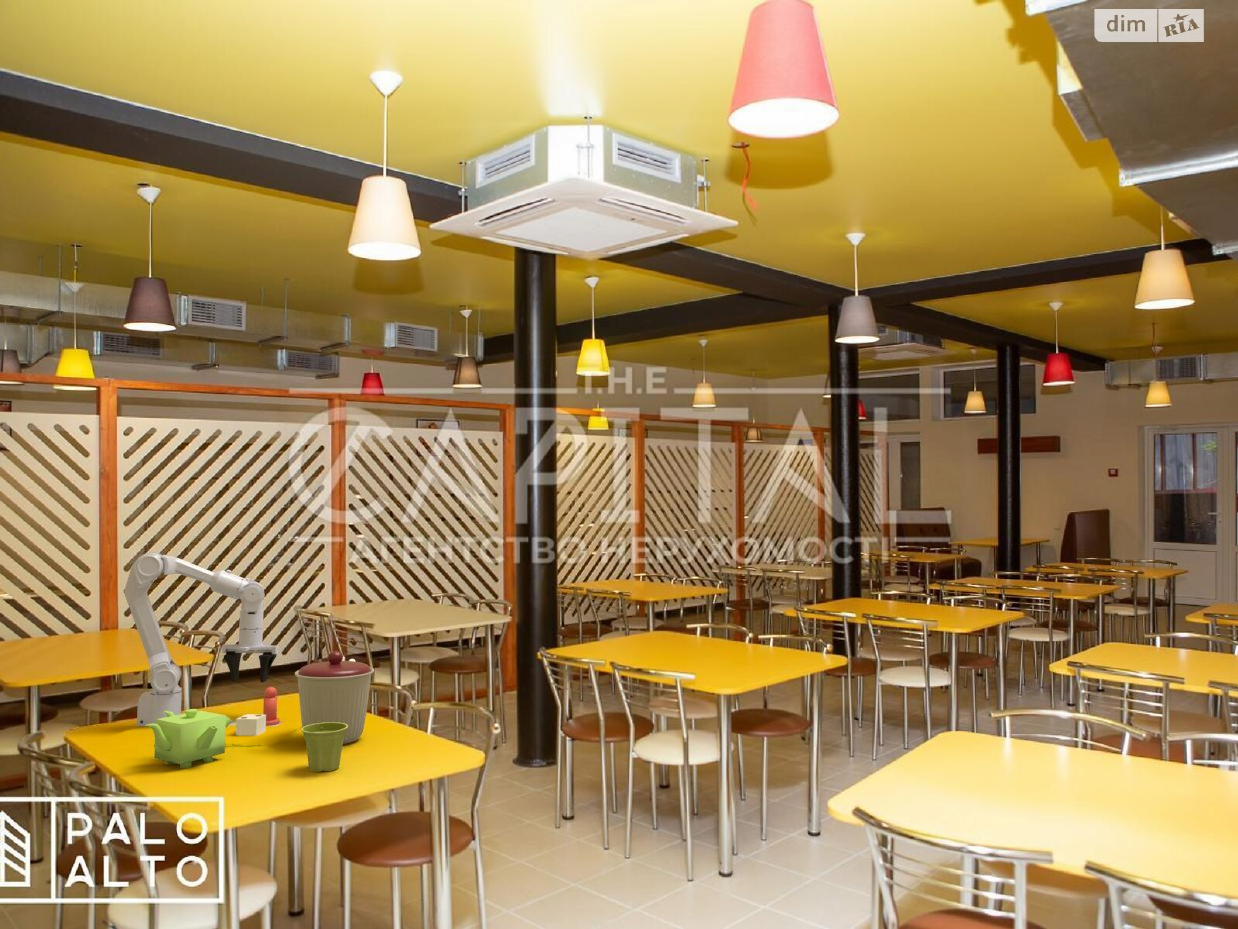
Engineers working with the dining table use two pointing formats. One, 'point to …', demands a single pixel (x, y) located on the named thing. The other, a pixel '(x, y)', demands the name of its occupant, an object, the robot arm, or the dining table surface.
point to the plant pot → (324, 745)
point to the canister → (335, 693)
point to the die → (250, 725)
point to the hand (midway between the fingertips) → (249, 681)
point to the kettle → (189, 737)
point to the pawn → (270, 706)
